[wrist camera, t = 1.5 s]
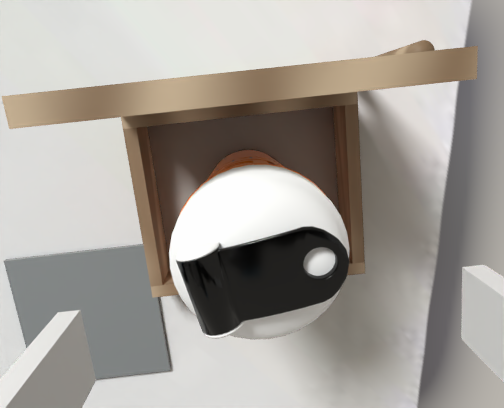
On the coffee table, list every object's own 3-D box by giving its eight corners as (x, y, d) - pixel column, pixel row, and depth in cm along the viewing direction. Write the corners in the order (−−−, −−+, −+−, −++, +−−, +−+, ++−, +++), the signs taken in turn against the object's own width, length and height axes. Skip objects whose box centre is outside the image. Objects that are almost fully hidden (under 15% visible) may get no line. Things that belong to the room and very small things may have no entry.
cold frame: (160, 278, 39) (86, 453, 19) (128, 88, 35) (-6, 68, 15) (364, 255, 39) (494, 404, 20) (356, 64, 35) (509, 14, 16)
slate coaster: (38, 383, 41) (36, 386, 40) (6, 259, 38) (3, 261, 37) (170, 368, 41) (170, 370, 41) (149, 243, 38) (148, 244, 37)
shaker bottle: (313, 211, 38) (398, 323, 18) (225, 252, 38) (217, 404, 19) (272, 121, 36) (318, 140, 16) (180, 166, 36) (118, 236, 17)
